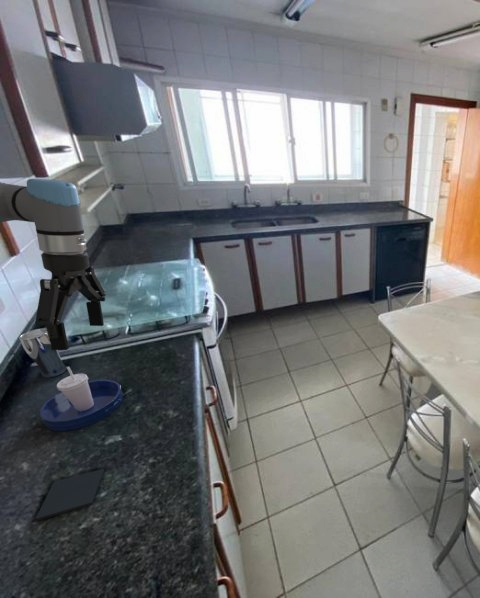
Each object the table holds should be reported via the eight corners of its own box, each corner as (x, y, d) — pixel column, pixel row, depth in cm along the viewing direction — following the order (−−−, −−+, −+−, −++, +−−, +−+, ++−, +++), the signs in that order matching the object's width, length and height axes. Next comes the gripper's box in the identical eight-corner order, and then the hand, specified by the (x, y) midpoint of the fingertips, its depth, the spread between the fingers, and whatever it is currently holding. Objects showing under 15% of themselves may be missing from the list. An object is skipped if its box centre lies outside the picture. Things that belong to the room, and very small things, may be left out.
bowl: (32, 438, 85) (26, 429, 84) (59, 396, 99) (55, 387, 98) (115, 420, 93) (111, 411, 91) (129, 383, 106) (126, 374, 105)
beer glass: (39, 381, 104) (16, 342, 98) (41, 370, 109) (19, 332, 102) (68, 373, 108) (48, 334, 102) (70, 363, 113) (50, 325, 106)
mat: (36, 521, 68) (34, 519, 68) (54, 484, 75) (53, 481, 75) (92, 504, 72) (91, 502, 71) (104, 470, 79) (103, 468, 79)
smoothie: (103, 404, 97) (84, 365, 91) (76, 418, 92) (54, 378, 86) (94, 395, 100) (75, 358, 93) (66, 409, 95) (44, 370, 88)
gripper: (43, 265, 64) (62, 361, 70) (115, 243, 87) (125, 317, 93) (-6, 262, 62) (18, 361, 69) (80, 241, 85) (93, 316, 91)
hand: (80, 336), depth 81 cm, fingers open, 13 cm apart
